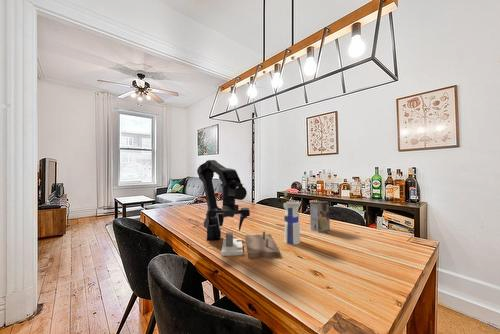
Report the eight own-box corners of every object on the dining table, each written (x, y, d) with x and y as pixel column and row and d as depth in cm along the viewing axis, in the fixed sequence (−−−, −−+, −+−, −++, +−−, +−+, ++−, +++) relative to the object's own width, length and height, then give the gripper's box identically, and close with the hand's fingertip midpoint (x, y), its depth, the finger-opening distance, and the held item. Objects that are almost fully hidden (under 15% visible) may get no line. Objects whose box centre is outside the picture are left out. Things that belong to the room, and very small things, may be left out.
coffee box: (321, 227, 128) (321, 200, 128) (330, 230, 123) (329, 202, 123) (310, 229, 124) (309, 201, 124) (318, 232, 118) (318, 203, 118)
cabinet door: (221, 255, 90) (221, 240, 90) (223, 242, 106) (223, 228, 106) (242, 255, 90) (242, 239, 90) (241, 241, 106) (241, 228, 106)
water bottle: (280, 243, 103) (280, 191, 103) (286, 237, 111) (286, 189, 110) (297, 246, 99) (297, 192, 99) (302, 240, 107) (302, 190, 107)
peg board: (248, 257, 88) (247, 244, 87) (245, 239, 109) (245, 228, 109) (279, 256, 88) (279, 243, 88) (270, 238, 110) (270, 227, 110)
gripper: (205, 200, 89) (206, 237, 89) (250, 199, 90) (250, 236, 91) (209, 196, 100) (209, 229, 100) (248, 195, 101) (249, 228, 102)
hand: (229, 231), depth 98 cm, fingers open, 9 cm apart
